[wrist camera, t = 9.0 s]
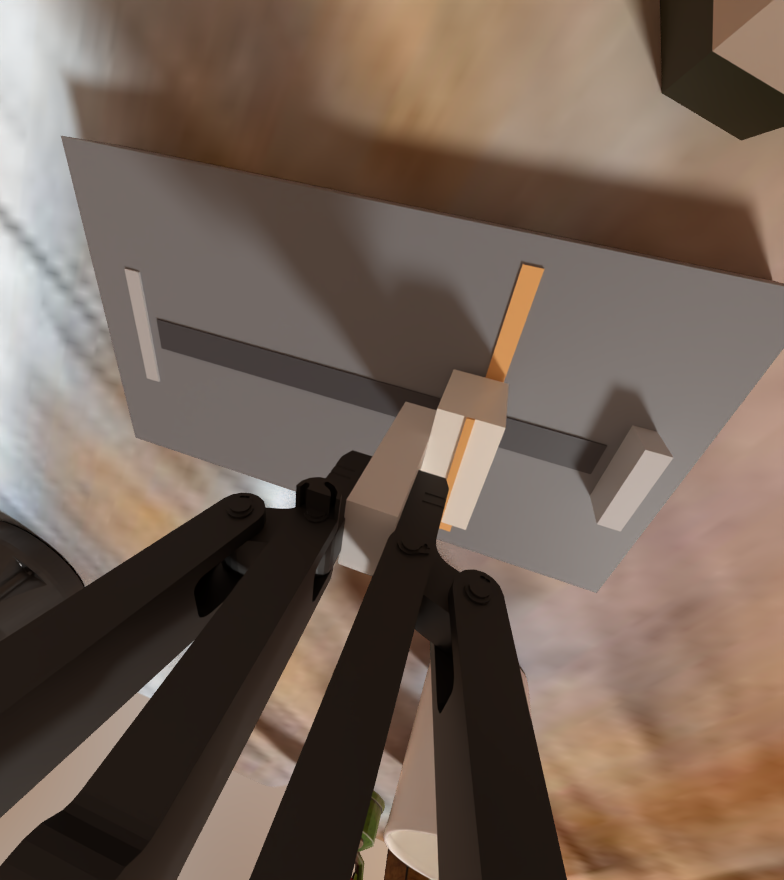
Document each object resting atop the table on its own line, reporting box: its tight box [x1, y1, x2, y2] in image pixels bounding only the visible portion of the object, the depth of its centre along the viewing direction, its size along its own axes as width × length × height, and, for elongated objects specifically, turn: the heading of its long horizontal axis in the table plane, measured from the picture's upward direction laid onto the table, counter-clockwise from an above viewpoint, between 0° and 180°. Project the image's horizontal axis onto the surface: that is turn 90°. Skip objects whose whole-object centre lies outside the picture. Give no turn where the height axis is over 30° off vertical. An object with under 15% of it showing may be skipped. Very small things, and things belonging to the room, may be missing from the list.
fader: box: [421, 369, 509, 530], centre depth 16 cm, size 2×5×4 cm, turn 170°
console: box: [61, 136, 784, 593], centre depth 19 cm, size 30×16×5 cm, turn 80°
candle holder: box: [384, 661, 531, 880], centre depth 28 cm, size 10×10×12 cm
